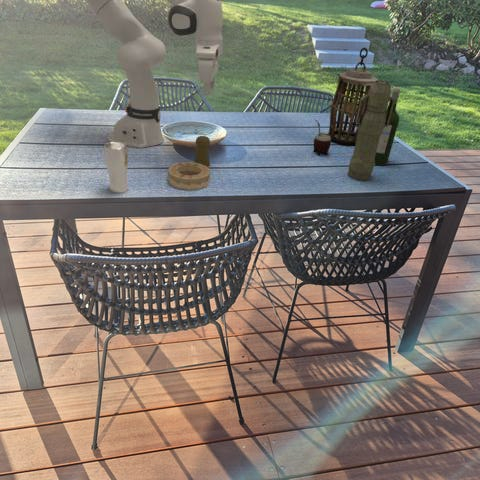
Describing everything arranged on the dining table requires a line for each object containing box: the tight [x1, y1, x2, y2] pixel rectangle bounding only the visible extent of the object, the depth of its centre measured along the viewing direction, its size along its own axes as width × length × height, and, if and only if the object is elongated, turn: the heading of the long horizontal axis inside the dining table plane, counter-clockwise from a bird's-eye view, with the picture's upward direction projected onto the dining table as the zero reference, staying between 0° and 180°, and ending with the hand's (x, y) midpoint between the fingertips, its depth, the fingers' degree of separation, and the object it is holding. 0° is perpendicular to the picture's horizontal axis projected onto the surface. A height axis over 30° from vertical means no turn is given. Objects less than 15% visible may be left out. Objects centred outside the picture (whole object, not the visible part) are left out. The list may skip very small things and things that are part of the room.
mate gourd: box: [312, 119, 332, 157], centre depth 179 cm, size 8×8×15 cm
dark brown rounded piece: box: [194, 135, 211, 168], centre depth 160 cm, size 6×6×11 cm
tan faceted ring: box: [167, 161, 211, 191], centre depth 150 cm, size 14×14×4 cm
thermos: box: [347, 80, 395, 182], centre depth 156 cm, size 9×12×35 cm
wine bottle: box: [374, 87, 401, 166], centre depth 171 cm, size 8×8×30 cm
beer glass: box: [104, 141, 129, 194], centre depth 137 cm, size 7×7×15 cm
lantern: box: [327, 47, 379, 147], centre depth 189 cm, size 19×19×40 cm
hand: (209, 91), depth 151 cm, fingers open, 8 cm apart
